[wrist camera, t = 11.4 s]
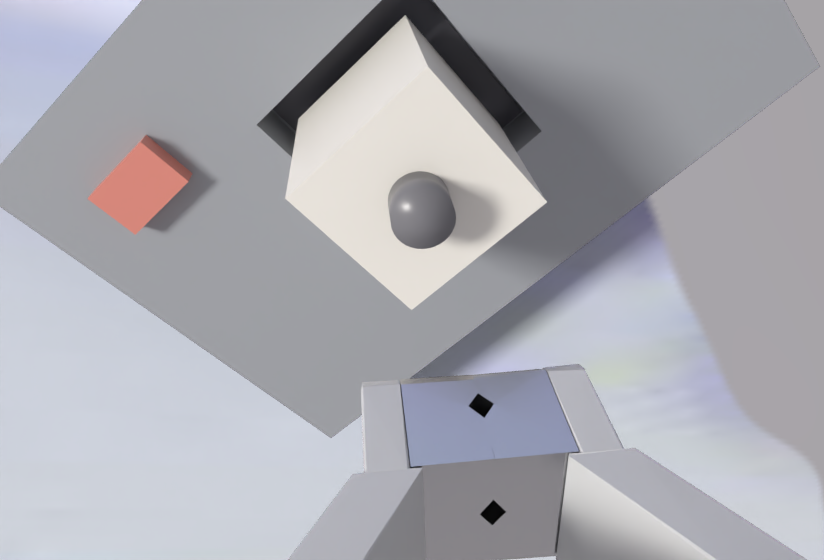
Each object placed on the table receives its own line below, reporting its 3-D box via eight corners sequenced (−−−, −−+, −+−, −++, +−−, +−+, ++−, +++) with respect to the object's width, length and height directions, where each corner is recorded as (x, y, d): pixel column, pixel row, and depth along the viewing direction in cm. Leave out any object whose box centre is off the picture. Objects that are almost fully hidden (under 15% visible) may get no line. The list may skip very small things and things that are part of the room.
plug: (401, 7, 20) (433, 79, 13) (491, 111, 21) (559, 221, 15) (300, 106, 21) (281, 218, 14) (393, 196, 23) (415, 333, 16)
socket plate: (505, -406, 16) (544, -471, 13) (764, 43, 22) (832, 71, 19) (20, 152, 22) (-33, 199, 19) (331, 385, 28) (331, 449, 25)
